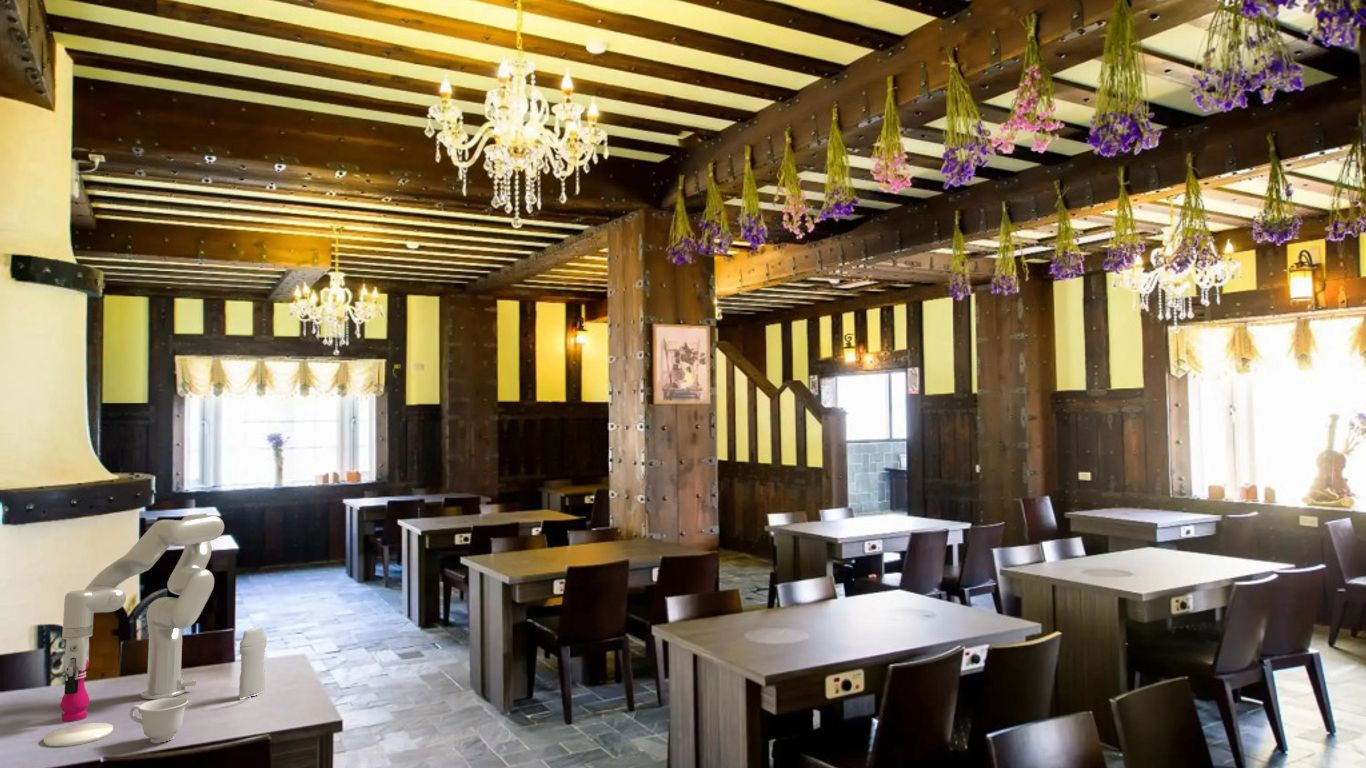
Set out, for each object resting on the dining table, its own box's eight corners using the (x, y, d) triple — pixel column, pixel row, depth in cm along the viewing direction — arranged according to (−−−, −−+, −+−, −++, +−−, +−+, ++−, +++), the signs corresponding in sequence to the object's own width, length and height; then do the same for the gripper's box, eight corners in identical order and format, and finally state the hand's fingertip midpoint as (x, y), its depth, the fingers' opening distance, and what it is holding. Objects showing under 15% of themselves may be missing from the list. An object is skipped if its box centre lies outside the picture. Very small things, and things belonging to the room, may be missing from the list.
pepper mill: (73, 723, 251) (76, 654, 252) (53, 721, 253) (56, 653, 254) (94, 715, 258) (97, 649, 260) (75, 714, 260) (78, 648, 261)
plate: (116, 723, 250) (116, 719, 250) (108, 740, 236) (108, 736, 236) (50, 732, 243) (50, 728, 243) (37, 750, 229) (38, 746, 229)
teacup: (141, 733, 242) (142, 698, 242) (195, 731, 243) (196, 696, 244) (116, 748, 230) (117, 711, 230) (173, 746, 231) (174, 709, 232)
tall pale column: (243, 701, 272) (245, 631, 273) (233, 699, 273) (235, 630, 275) (269, 691, 282) (271, 624, 283) (259, 690, 283) (261, 624, 285)
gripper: (87, 636, 251) (84, 695, 250) (96, 625, 266) (93, 681, 265) (56, 638, 248) (53, 698, 246) (67, 628, 263) (64, 684, 261)
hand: (74, 689), depth 256 cm, fingers open, 9 cm apart
